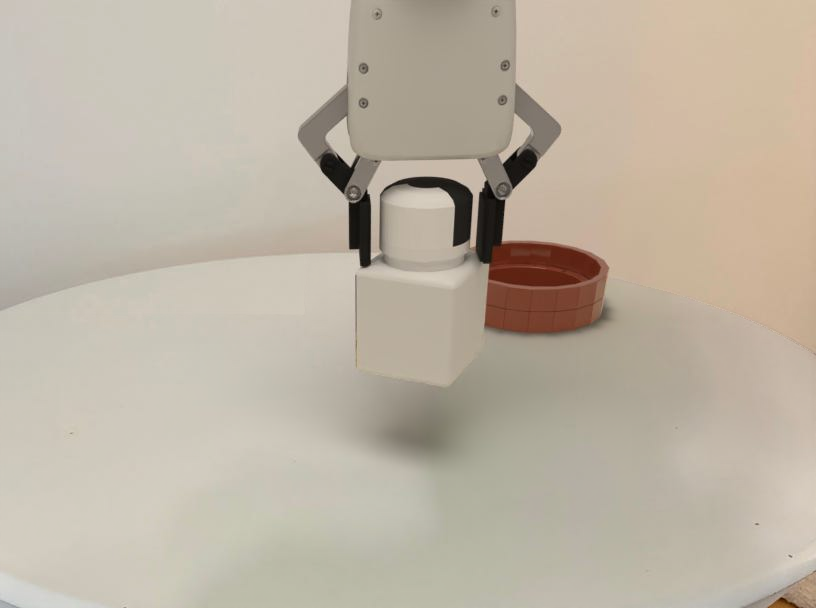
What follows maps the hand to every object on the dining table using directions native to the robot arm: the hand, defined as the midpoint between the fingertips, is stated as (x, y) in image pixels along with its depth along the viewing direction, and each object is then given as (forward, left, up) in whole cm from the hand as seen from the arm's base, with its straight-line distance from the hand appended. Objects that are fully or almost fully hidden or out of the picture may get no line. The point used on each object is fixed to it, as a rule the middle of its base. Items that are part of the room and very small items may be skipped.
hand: (423, 257), depth 66 cm
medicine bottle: (0, 0, -8) cm, 8 cm away
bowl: (-14, -30, -15) cm, 36 cm away
